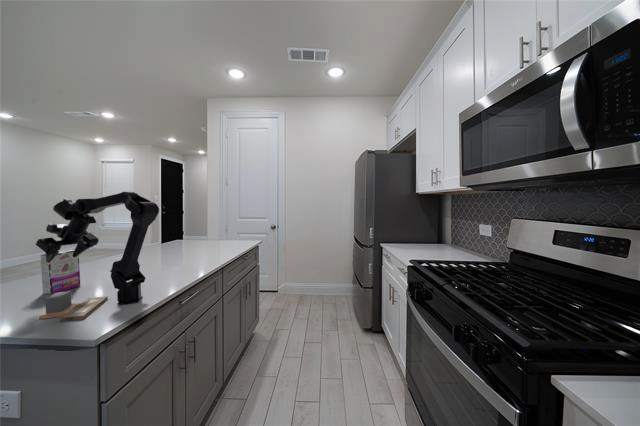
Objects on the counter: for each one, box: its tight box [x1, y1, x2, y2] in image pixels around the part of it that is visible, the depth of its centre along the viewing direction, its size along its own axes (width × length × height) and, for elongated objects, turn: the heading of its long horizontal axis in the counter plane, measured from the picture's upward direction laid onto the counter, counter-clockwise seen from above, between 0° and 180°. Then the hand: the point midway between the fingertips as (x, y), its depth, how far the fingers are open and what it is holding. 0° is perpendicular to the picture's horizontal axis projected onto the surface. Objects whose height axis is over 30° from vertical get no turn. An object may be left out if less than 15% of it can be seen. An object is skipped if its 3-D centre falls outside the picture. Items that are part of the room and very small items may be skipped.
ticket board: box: [59, 296, 108, 323], centre depth 93 cm, size 6×18×1 cm, turn 19°
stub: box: [38, 290, 82, 320], centre depth 90 cm, size 7×9×6 cm
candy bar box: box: [40, 249, 81, 295], centre depth 112 cm, size 11×5×16 cm, turn 168°
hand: (61, 259), depth 105 cm, fingers open, 9 cm apart
